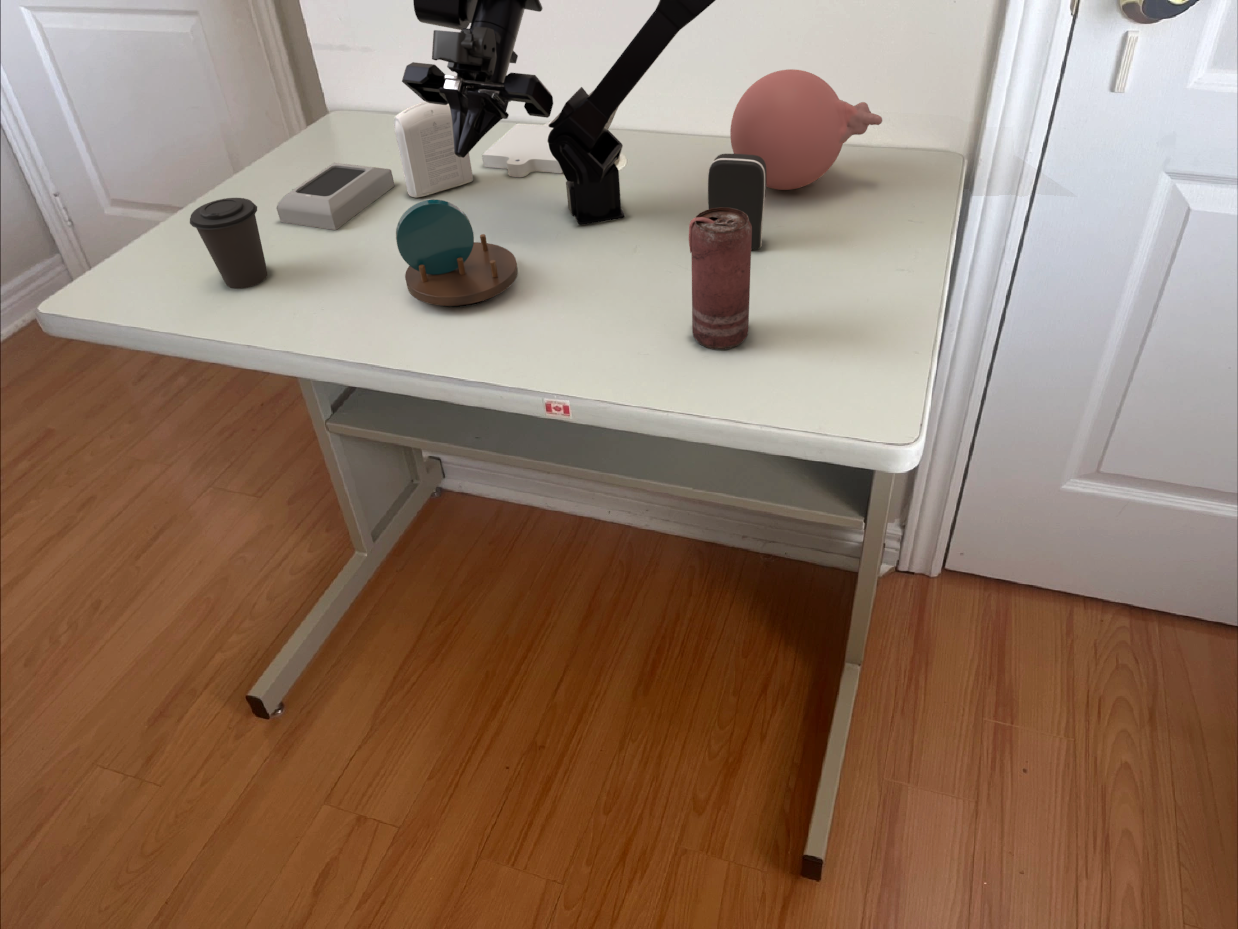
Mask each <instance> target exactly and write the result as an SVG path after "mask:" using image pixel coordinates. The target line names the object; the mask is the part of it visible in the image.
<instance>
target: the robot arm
mask: <svg viewBox="0 0 1238 929" xmlns="http://www.w3.org/2000/svg"><path fill="white" fill-rule="evenodd" d="M715 2H716V0H659V1H658V4H657V6H656V7H655V9H654V11H653V12H652V14H650V16H649V17H648V18H647V20H646V21H645V23H644V24H643V26H642V27H641V28H640V29H639V31H638V32H637V33H636V34H635V36H634V37H633V38H632V39H631V41H630V43H629V44H628V45H627V46H626V47H625V49H624V50H623V52H622V53H621V54H620V56H619V57H618V58H617V60H615V62H614V63H613V64H612V66H611V67H610V68H609V70H608V71H607V73H606V74H605V75H604V76H603V77H602V79H601V80H600V81H599V83H598V84H597V85H596V87H595V88H594V89H593V90H592V91H591V92H590V93H587V91H586V90H585V88H584V87H582V86H581V87H579V88H578V90H576V91H575V93H573V95H572V96H570V98H569V99H568V100H567V101H566V102H565V103H564V105H563V107H562V109H561V111H560V112H559V113H558V115H556V116H555V117H554V119H552V120H553V121H552V120H551V121H552V122H551V123H550V124H549V127H551V128H553V129H552V130H551V132H550V134H549V136H548V140H547V142H548V144H549V149H550V151H551V153H552V155H553V157H554V158H555V159H556V160H557V161H558V162H559V165H560V167H561V169H562V171H563V172H562V174H563V176H564V178H565V180H566V181H565V188H566V189H565V190H566V198H567V208H568V211H569V213H570V215H571V217H573V218H574V219H575V221H576V224H577V225H579V226H586V225H591V224H592V225H593V224H598V223H603V222H609V221H616V220H622V219H625V218H626V217H625V212H624V210H623V208H622V200H621V184H620V171H619V168H618V166H617V165H616V162H617V160H619V159H620V157H621V153H622V150H623V147H624V146H623V143H622V142H621V141H620V140H619V139H618V138H617V137H616V136H615V135H614V134H613V133H612V132H611V131H610V126H611V125H612V123H613V121H614V118H615V116H616V114H617V111H618V109H619V107H620V106H621V104H622V103H623V102H624V101H625V99H626V98H627V97H628V95H629V94H630V93H631V92H632V91H633V89H634V88H635V87H636V86H637V84H638V83H639V82H640V81H641V79H642V78H643V77H644V76H645V74H646V73H647V72H648V71H649V69H650V68H651V67H652V66H653V64H654V63H655V62H656V60H657V59H658V58H659V57H660V56H661V54H662V53H663V52H664V51H665V50H666V48H667V47H668V46H669V44H670V43H671V42H672V41H673V39H674V38H675V37H676V36H677V34H678V33H679V32H680V31H681V30H683V28H685V27H686V26H687V25H689V23H691V22H692V21H693V20H695V19H696V18H697V17H698V16H699V15H700V14H702V13H703V12H704V11H705V10H707V8H709V7H710V6H711V5H712V4H713V3H715ZM543 8H544V7H543V6H542V3H541V0H413V10H414V14H415V17H416V19H417V20H418V21H419V23H422V24H427V25H433V26H437V27H443V28H447V29H454V30H458V31H448V30H439V29H434V30H433V33H432V50H431V60H433V61H443V62H447V65H446V67H447V68H448V70H450V71H451V72H453V73H455V74H456V75H448V74H446V73H445V72H443V71H442V70H441V69H440V68H439V67H438V66H437V65H436V64H435V63H434V64H433V63H425V62H414V61H413V62H411V63H409V64H407V65H406V66H405V69H404V72H403V75H402V80H401V82H402V83H403V84H404V85H405V86H406V87H407V88H408V89H410V90H411V91H412V92H413V93H414V94H415V95H416V96H418V98H420V99H421V100H422V101H423V102H428V103H432V104H440V105H447V104H449V106H450V110H451V116H452V124H453V138H454V152H455V155H457V156H458V157H462V158H464V157H465V156H466V155H467V154H468V153H469V154H470V152H471V151H472V150H473V148H475V146H476V145H477V144H478V143H479V142H480V141H481V139H483V138H484V137H485V135H487V133H489V131H490V130H492V128H494V127H495V126H496V125H497V124H498V123H500V121H501V120H503V119H504V120H507V119H508V118H509V116H510V114H509V113H508V111H507V109H508V107H509V103H510V102H516V103H517V102H519V103H524V105H523V108H524V109H525V111H526V113H527V114H528V116H530V117H539V118H546V119H548V118H549V117H550V116H551V113H552V110H553V107H554V97H553V95H552V92H551V91H550V90H549V89H548V88H547V87H546V85H544V83H543V82H542V81H541V80H540V78H538V76H537V74H529V73H520V72H509V73H508V70H509V68H510V67H509V66H510V64H517V60H518V57H519V55H518V54H517V53H516V52H515V51H514V49H515V46H516V42H517V40H518V35H519V32H520V27H521V25H522V20H523V17H524V13H525V10H529V11H531V12H532V11H533V12H539V13H540V12H542V11H543Z"/></svg>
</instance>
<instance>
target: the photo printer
mask: <svg viewBox="0 0 1238 929" xmlns="http://www.w3.org/2000/svg"><path fill="white" fill-rule="evenodd" d="M393 128H394V134H395V138H396V143H397V148H398V151H399V157H400V161H401V166H402V172H403V176H404V181H405V186H406V191H407V194H408V195H409V196H410V197H411V198H416V199H417V198H421V197H425V196H430V195H433V194H435V193H439V192H443V191H445V190H450V189H452V188H453V189H454V188H456V187H460V186H463V185H466V184H469V183H472V182H473V180H474V175H473V170H472V163H471V156H470V152H469V153H468V154H467V155H466V156H465V157H464V158H462V157H458V156H457V155H455V152H454V138H453V124H452V116H451V110H450V106H449V104H447V105H440V104H432V103H428V102H426V101H422V102H419V103H416V104H414V105H411V106H409V107H407V108H405V109H404V110H402V111H400V112H399V113H397V114H396V115H395V116H394V117H393Z"/></svg>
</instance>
